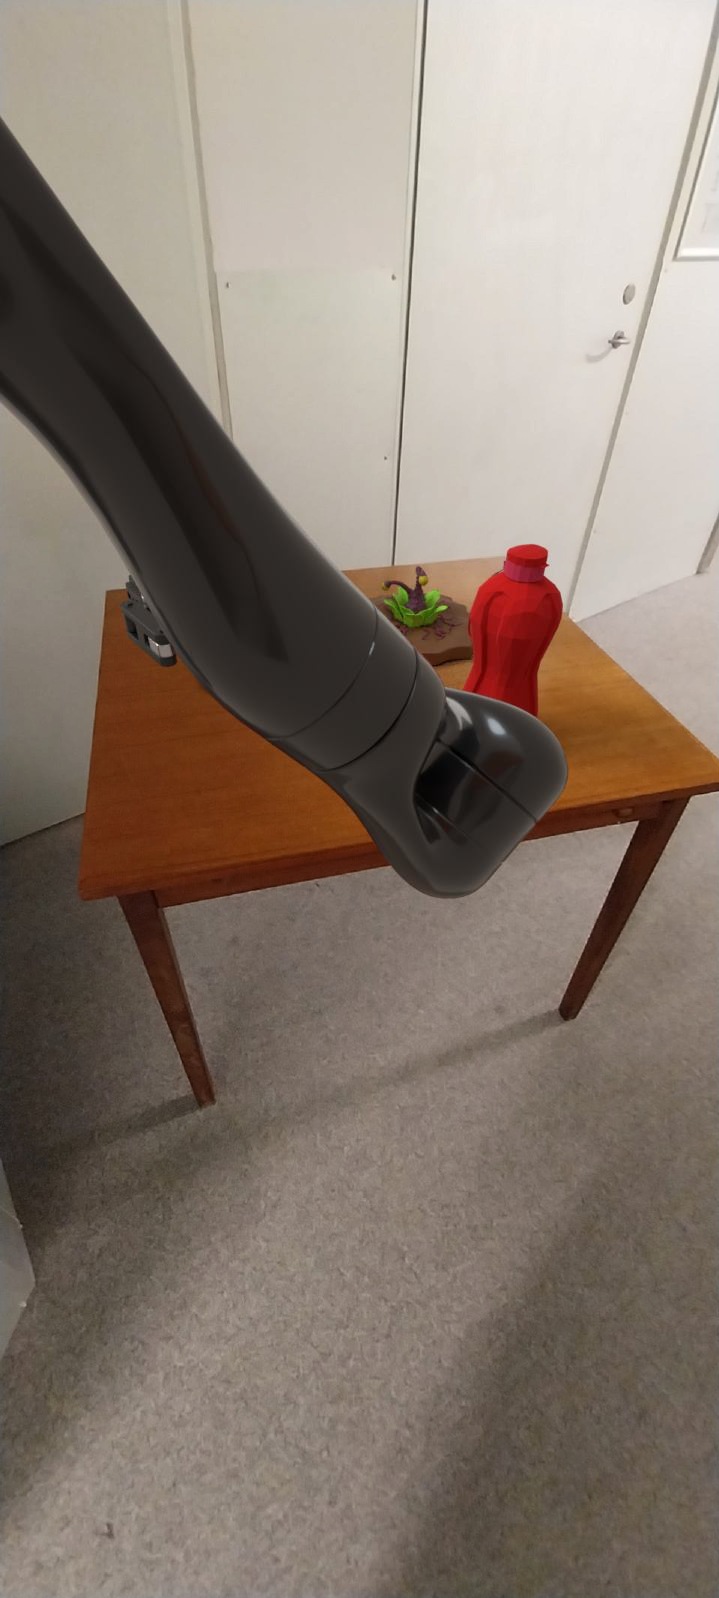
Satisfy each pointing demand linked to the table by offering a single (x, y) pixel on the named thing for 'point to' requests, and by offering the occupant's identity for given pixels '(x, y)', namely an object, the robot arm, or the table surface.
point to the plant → (428, 620)
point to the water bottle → (513, 628)
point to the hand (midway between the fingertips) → (185, 572)
